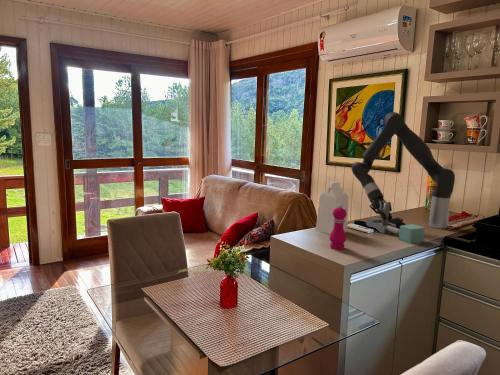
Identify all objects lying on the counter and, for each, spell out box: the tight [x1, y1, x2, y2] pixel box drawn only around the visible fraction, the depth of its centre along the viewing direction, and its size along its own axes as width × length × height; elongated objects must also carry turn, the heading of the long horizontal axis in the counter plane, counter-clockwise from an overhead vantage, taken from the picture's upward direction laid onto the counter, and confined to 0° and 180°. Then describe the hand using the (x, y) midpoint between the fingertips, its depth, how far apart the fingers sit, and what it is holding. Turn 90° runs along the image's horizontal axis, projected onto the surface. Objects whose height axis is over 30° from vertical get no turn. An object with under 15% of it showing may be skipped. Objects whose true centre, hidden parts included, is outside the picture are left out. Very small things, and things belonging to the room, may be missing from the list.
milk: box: [315, 181, 349, 235], centre depth 190 cm, size 12×12×26 cm
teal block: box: [398, 223, 426, 244], centre depth 179 cm, size 9×7×7 cm
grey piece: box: [378, 202, 400, 235], centre depth 192 cm, size 3×18×14 cm, turn 26°
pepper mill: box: [329, 204, 347, 251], centre depth 164 cm, size 7×7×20 cm
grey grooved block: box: [365, 216, 396, 235], centre depth 197 cm, size 8×13×5 cm, turn 26°
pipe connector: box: [378, 216, 406, 229], centre depth 203 cm, size 12×5×15 cm
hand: (388, 219), depth 192 cm, fingers closed on grey piece, 3 cm apart
